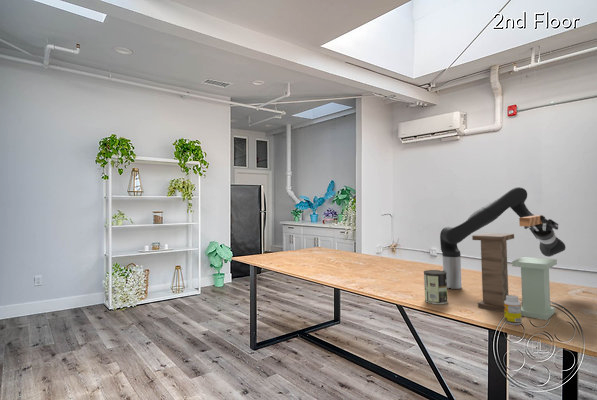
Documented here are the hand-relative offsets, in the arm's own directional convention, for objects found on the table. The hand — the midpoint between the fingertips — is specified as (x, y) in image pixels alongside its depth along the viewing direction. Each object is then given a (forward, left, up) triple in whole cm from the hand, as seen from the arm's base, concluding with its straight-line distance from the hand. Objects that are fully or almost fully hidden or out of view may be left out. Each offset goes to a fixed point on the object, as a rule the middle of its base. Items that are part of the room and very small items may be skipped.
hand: (535, 217), depth 157 cm
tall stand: (-18, -8, -39) cm, 44 cm away
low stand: (-4, -15, -39) cm, 42 cm away
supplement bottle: (-15, -30, -40) cm, 52 cm away
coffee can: (-43, -7, -40) cm, 59 cm away
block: (-3, -6, -3) cm, 7 cm away
